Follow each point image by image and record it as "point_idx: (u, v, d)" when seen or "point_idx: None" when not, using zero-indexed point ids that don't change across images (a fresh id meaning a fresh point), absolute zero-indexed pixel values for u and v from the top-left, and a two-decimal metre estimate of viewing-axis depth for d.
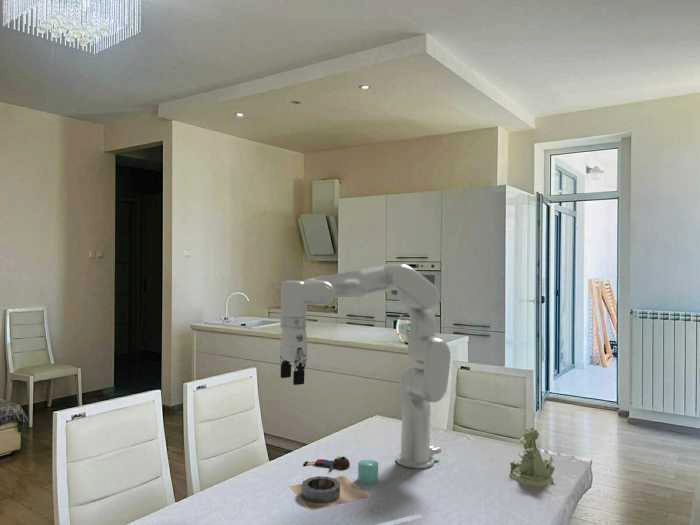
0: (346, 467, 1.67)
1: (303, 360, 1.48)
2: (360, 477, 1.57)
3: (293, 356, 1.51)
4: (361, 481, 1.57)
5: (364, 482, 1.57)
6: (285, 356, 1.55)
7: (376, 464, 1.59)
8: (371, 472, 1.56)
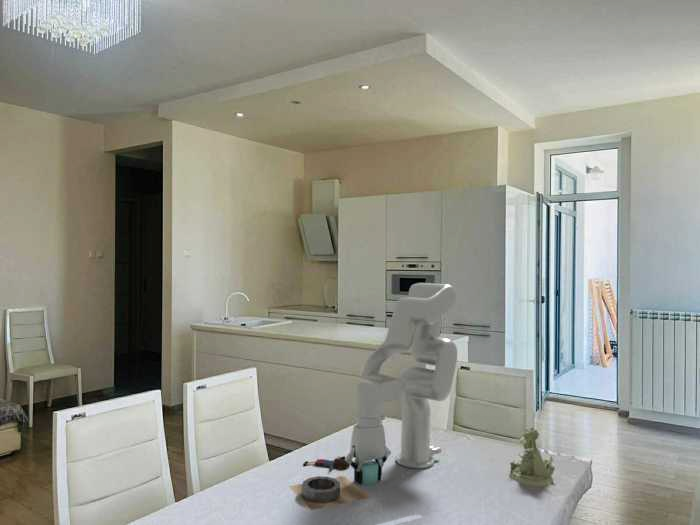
0: (346, 467, 1.67)
1: None
2: None
3: (385, 450, 1.60)
4: None
5: (364, 482, 1.56)
6: (371, 456, 1.57)
7: (376, 464, 1.59)
8: (371, 472, 1.56)
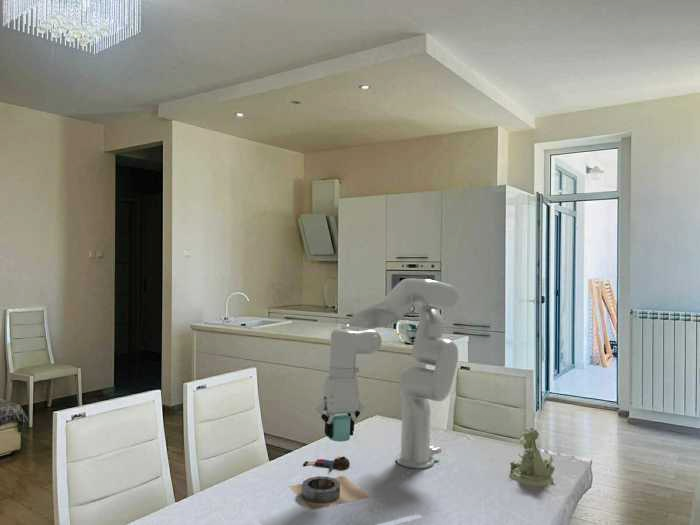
0: (346, 467, 1.67)
1: None
2: None
3: (358, 404, 1.53)
4: None
5: (335, 435, 1.49)
6: (343, 408, 1.50)
7: (348, 418, 1.52)
8: (343, 425, 1.49)
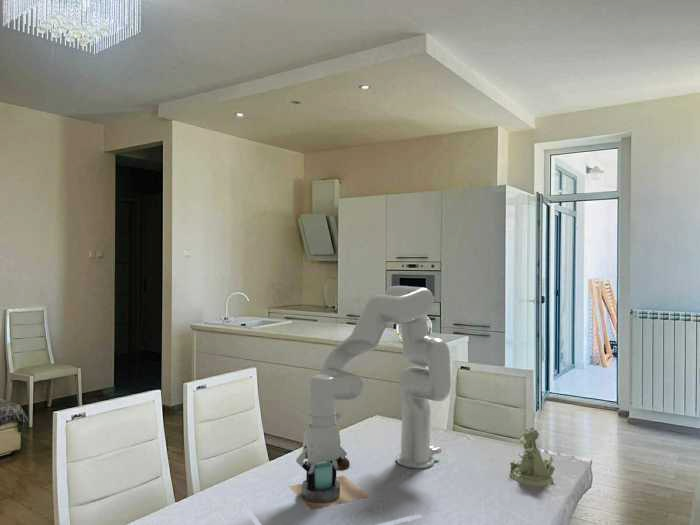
0: (346, 467, 1.67)
1: None
2: None
3: (340, 451, 1.49)
4: None
5: (316, 485, 1.46)
6: (324, 457, 1.47)
7: (330, 466, 1.48)
8: (324, 474, 1.46)
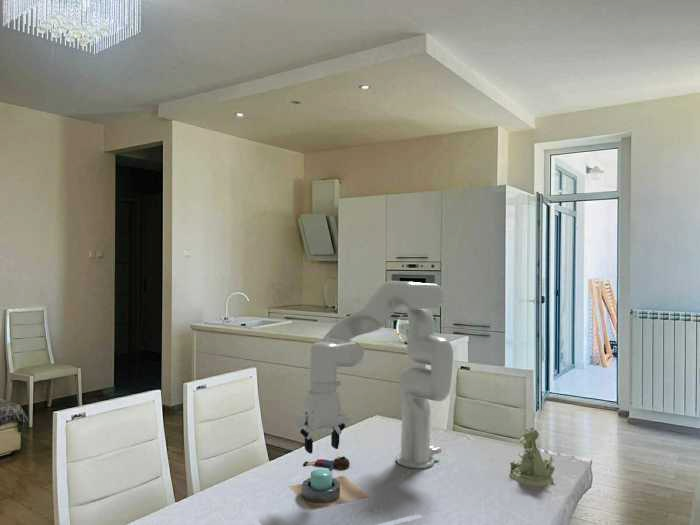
0: (346, 467, 1.67)
1: None
2: (312, 488, 1.47)
3: (340, 418, 1.49)
4: None
5: None
6: (325, 424, 1.47)
7: (330, 474, 1.48)
8: (324, 483, 1.46)
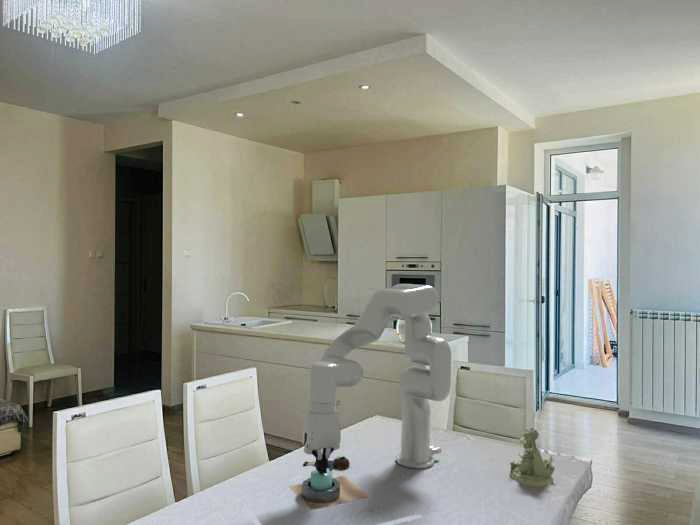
0: (346, 467, 1.67)
1: None
2: (312, 488, 1.47)
3: (340, 438, 1.49)
4: None
5: None
6: (325, 444, 1.47)
7: (330, 474, 1.48)
8: (324, 483, 1.46)
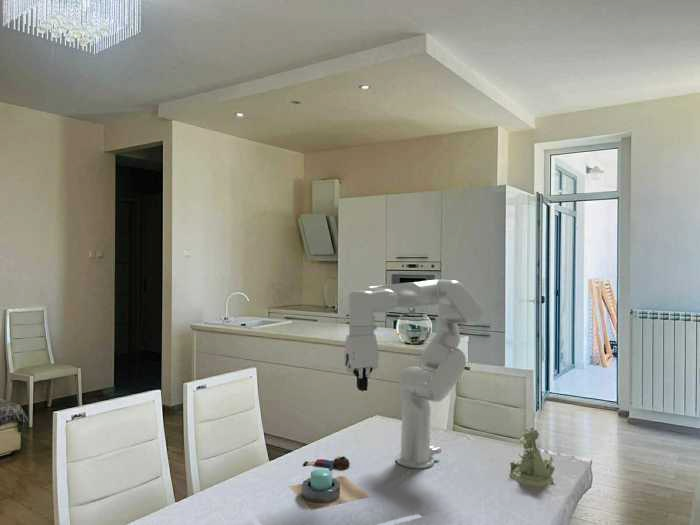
0: (346, 467, 1.67)
1: None
2: (312, 488, 1.47)
3: None
4: None
5: None
6: (365, 363, 1.61)
7: (330, 474, 1.48)
8: (324, 483, 1.46)
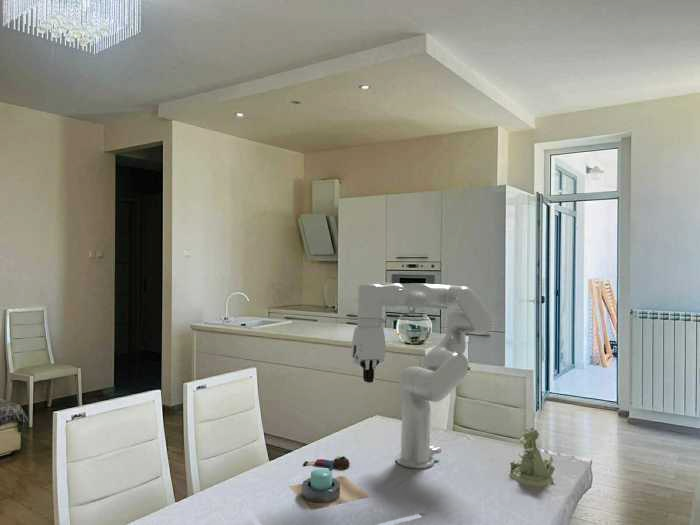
0: (346, 467, 1.67)
1: None
2: (312, 488, 1.47)
3: None
4: None
5: None
6: (372, 355, 1.64)
7: (330, 474, 1.48)
8: (324, 483, 1.46)
